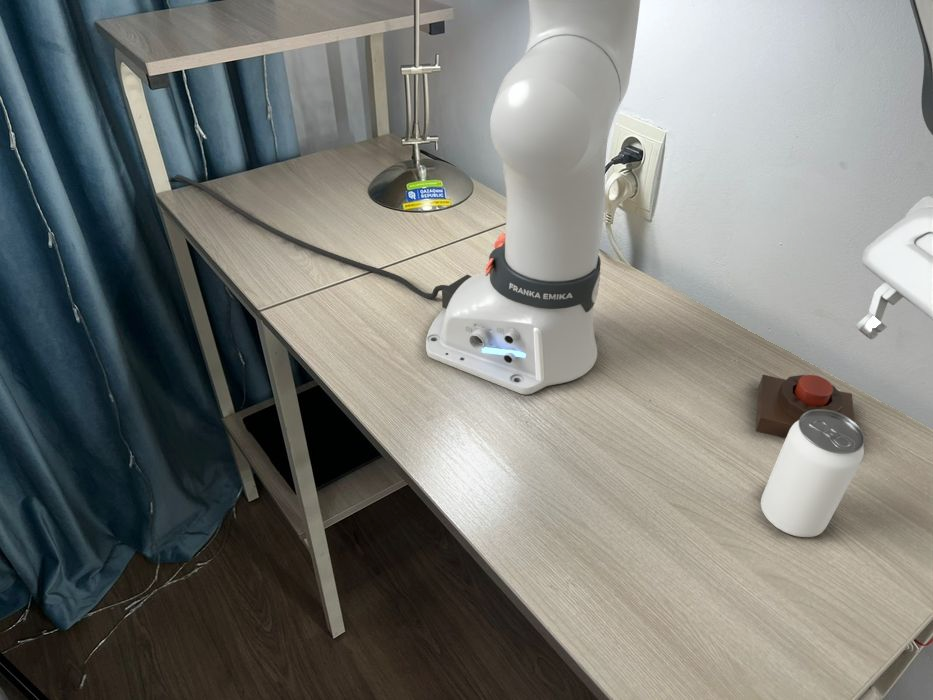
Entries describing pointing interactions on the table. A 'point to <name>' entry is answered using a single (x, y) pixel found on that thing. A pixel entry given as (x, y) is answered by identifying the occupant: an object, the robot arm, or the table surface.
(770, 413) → the button block
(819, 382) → the trigger button
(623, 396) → the table surface
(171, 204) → the table surface
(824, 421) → the can
